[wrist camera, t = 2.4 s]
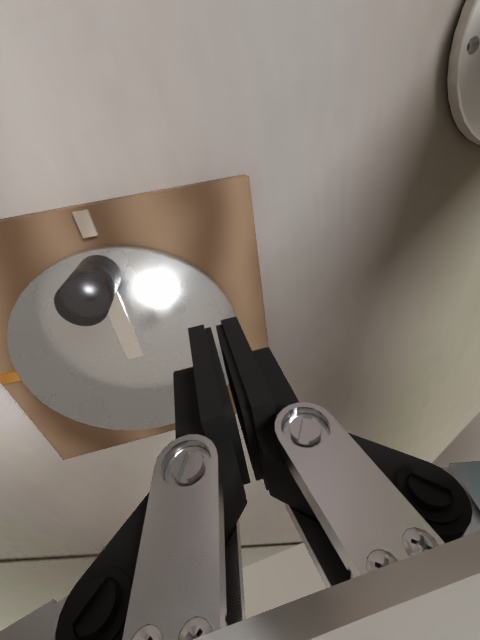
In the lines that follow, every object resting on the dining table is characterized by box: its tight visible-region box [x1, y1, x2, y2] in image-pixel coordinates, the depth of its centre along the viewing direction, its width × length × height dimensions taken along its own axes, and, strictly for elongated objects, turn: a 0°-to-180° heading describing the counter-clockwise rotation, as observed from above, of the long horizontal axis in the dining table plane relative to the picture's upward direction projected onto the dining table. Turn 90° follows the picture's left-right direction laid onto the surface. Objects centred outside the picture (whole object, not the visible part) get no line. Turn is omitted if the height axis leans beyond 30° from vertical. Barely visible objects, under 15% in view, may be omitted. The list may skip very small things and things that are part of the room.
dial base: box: [0, 175, 269, 460], centre depth 24 cm, size 22×22×2 cm
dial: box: [7, 245, 236, 430], centre depth 21 cm, size 17×17×6 cm
